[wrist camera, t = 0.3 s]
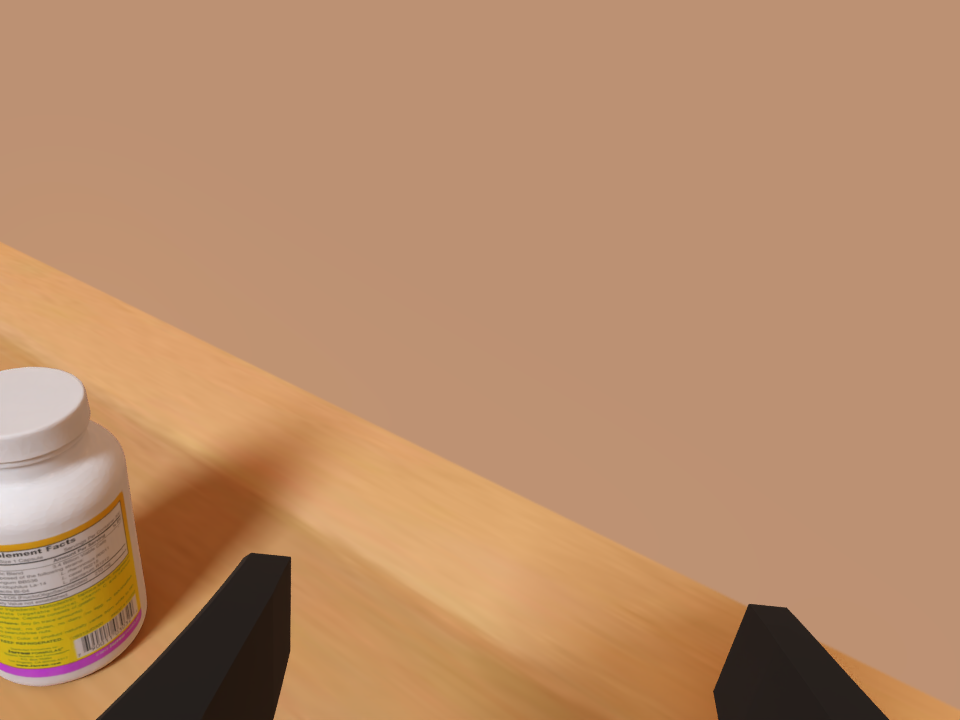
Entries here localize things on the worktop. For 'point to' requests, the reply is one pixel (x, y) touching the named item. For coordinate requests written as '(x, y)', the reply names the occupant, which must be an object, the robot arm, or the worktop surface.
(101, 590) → the supplement bottle
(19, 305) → the worktop surface
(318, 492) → the worktop surface
